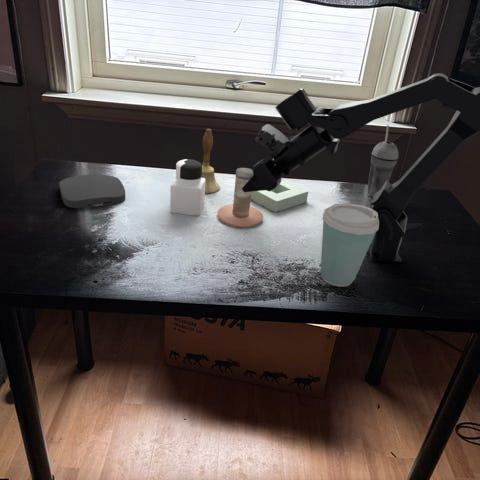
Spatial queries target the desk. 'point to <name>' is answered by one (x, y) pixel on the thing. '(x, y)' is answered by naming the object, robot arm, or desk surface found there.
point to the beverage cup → (381, 164)
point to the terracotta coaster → (231, 220)
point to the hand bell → (208, 171)
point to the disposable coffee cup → (346, 241)
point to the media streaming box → (91, 191)
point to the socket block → (280, 196)
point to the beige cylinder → (242, 193)
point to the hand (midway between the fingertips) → (250, 183)
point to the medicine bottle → (188, 188)
